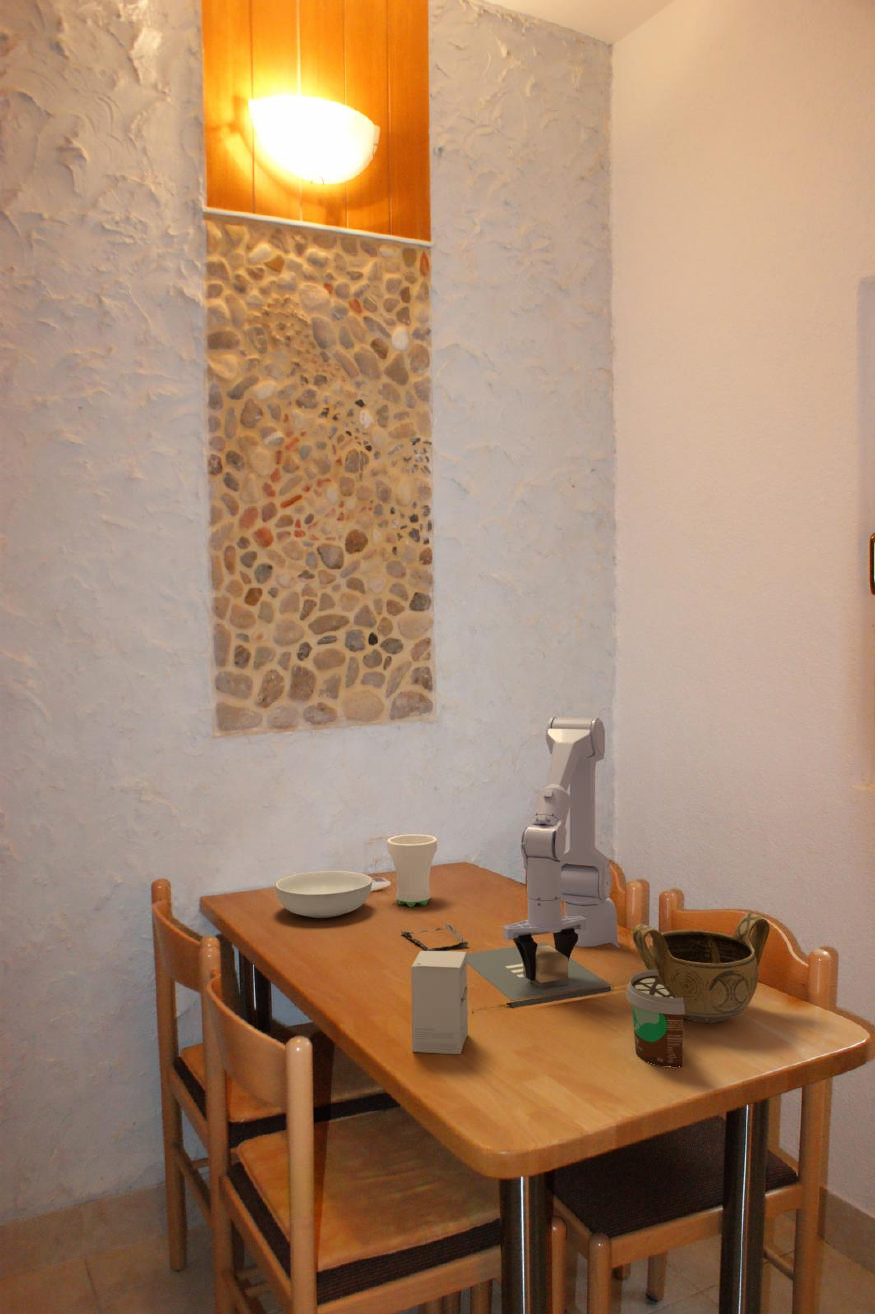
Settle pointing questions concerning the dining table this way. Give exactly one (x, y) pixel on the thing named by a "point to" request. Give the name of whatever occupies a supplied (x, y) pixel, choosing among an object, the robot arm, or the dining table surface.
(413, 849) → the cup
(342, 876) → the cream oval piece
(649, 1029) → the food container
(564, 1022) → the dining table surface
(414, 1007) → the supplement box
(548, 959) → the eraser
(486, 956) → the slate board
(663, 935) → the ceramic bowl
